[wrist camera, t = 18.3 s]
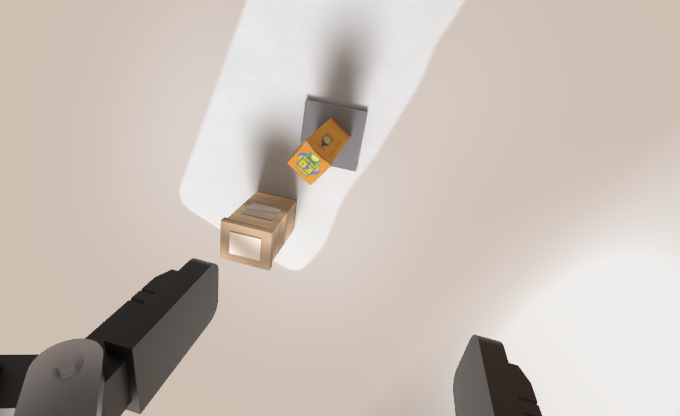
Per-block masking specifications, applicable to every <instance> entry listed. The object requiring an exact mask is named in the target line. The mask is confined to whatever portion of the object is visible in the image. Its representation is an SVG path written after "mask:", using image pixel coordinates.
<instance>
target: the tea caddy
mask: <svg viewBox="0 0 680 416" xmlns="http://www.w3.org/2000/svg"><path fill="white" fill-rule="evenodd" d="M296 203H297V201H296V200H291V199H287V198H283V197H279V196H274V195H270V194H266V193H261V192H256V193H255V194H254V195H253V196H252V197H251V198H250V199H248V200H247V201H246V202H245V203H244V204H243V205H242V206H241V207H240V208H238V209H237V210H236V211H235V212H234V213H233V214H232V215H231V216H230V217H228V218H223V219H222V220H221V243H220V244H221V245H220V247H221V248H220V258H223V259H227V260H231V261H235V262H239V263H242V264H246V265H250V266H254V267H258V268H262V269H266V270H269V269H270V268H271V266H272V261H273V259H274V258H275V256H276V255H277V253H278V252H279V250H280V249H281V247H282V246H283V245H284V243H285V242H286V240H287V239H288V237H289V236H290V234H291V233H292V231H293V229H294V220H295V211H296Z"/></svg>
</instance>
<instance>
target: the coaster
mask: <svg viewBox="0 0 680 416" xmlns="http://www.w3.org/2000/svg"><path fill="white" fill-rule="evenodd" d="M366 114H367V111H363V110H358V109H353V108H348V107H343V106H338V105H333V104H328V103H323V102H318V101H313V100H308V99H307V100H306V101H305V110H304V119H303V128H302V137H301V144H302V142H303V141H304V140H305V139H307V138H308V137H309V136H311V135H312V134H313V133H314V132H315V131H316V130H317V129H319V128H320V127H321V126H322V125H323V124H324V123H325V122H327V121H328V120H329V118H332V119H333V120H334V121H335V122H336V123H337V124H338V125H339V126H340V127H341V128H342V129H343V130H344V131H345V132H346V133H347V134H348V135H349V136H350V139H349V141H348V142H347V143H346V145H345V146H344V147H343V149H342V150H341V152H340V153H339V154H338V156H337V157H336V159H335V160H334V162H333V163H332V165H331V166H333V167H338V168H342V169H347V170H352V171H356V167H357V162H358V157H359V151H360V146H361V141H362V135H363V130H364V125H365V120H366Z"/></svg>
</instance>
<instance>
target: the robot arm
mask: <svg viewBox="0 0 680 416" xmlns="http://www.w3.org/2000/svg"><path fill="white" fill-rule="evenodd" d="M217 303H218V266H217V265H216V264H213V263H209V262H206V261H202V260H199V259H191V260H190V261H189V262H188V263H186V264H185V265H184V266H183V267H182V268H181V269H180V270H179V271H175V270H170V271H168V272H166V273H164V274H161V275H159V276H157V277H155V278H154V279H153V280H152V281H150V282H149V283H148V284H147V285H146V286H145V287H144V288H142V291H139V292H138V293H137V294H135V296H133V297H132V299H131V300H130V301H127V302H126V303H125V304H124V305H123V306H122V307H121V308H119V309H118V310H117V311H116V312H115V313H114V314H113V315H112V316H111V317H109V318H108V319H107V320H106V321H105V322H103V323H102V324H101V325H100V326H99V327H98V328H97V329H96V330H94V331H93V332H92V333H91V334H90V335H89V336H88V337H86V338H85V339H72V340H68V341H64V342H61V343H58V344H56V345H54V346H52V347H50V348H48V349H46V350H45V351H44V352H42V353H41V354H40V355H0V416H121V414H122V413H123V412H124V410H125V409H126V410H129V411H132V412H135V413H138V414H141V412H142V411H143V410H144V409H145V407H146V406H147V404H148V403H149V402H150V401H151V399H152V398H153V397H154V395H155V394H156V393H157V391H158V390H159V388H160V387H161V386H162V385H163V383H164V382H165V381H166V379H167V378H168V377H169V375H170V374H171V373H172V371H173V370H174V369H175V367H176V366H177V365H178V364H179V362H180V361H181V359H182V358H183V357H184V355H185V354H186V353H187V352H188V350H189V349H190V347H191V346H192V345H193V344H194V342H195V341H196V340H197V338H198V337H199V336H200V334H201V333H202V332H203V330H204V329H205V328H206V326H207V325H208V324H209V322H210V321H211V320H212V318H213V316H214V314H215V311H216V308H217ZM453 385H454V386H453V393H454V403H455V412H456V416H542V414H541V411H540V409H539V406H537V400H536V397H535V394H534V391H533V388H532V385H531V383H530V382H529V380H528V379H527V377H526V376H525V375H524V373H523V372H522V371H521V369H520V368H519V366H517V365H514V364H510V363H508V360H507V356H506V353H505V349H504V346H503V344H502V343H501V342H499V341H496V340H492V339H488V338H485V337H481V336H477V335H473V336H472V337H471V339H470V341H469V343H468V346H467V348H466V350H465V352H464V355H463V357H462V359H461V361H460V363H459V365H458V368H457V370H456V373H455V377H454V384H453Z"/></svg>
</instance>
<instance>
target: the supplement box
mask: <svg viewBox="0 0 680 416" xmlns="http://www.w3.org/2000/svg"><path fill="white" fill-rule="evenodd" d="M349 139H350V136H349V135H348V134H347V133H346V132H345V131H344V130H343V129H342V128H341V127H340V126H339V125H338V124H337V123H336V122H335V121H334V120H333V119H332V118H329V120H328V121H327V122H325V123H324V124H323V125H322V126H321V127H320V128H319V129H317V130H316V131H315V132H314V133H313V134H312V135H311V136H309V137H308V138H307V139H305V140H304V141H303V142H302V144H301V145H300V146H299V148H298V149H297V150H296V151H295V153H294V154H293V155H292V157H291V158H290V159H289V161H288V162H287V164H288V165H289V166H290V167H291V168H293V169H294V170H295V171H296V172H297V173H298V174H299V175H300V176H301V177H302V178H303V179H304V180H305V181H306V182H307V183H308V184H309V185H311V184H312V183H313V182H314V181H315V180H316V179H317V178H319V177H320V176H321V175H322V174H323V173H324V172H325V171H326V170H327V169H328V168H329V167H330V166H331V165H332V163H333V162H334V160H335V159H336V157H337V156H338V154H339V153H340V152H341V150H342V149H343V147H344V146H345V145H346V143H347V142H348V141H349Z"/></svg>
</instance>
